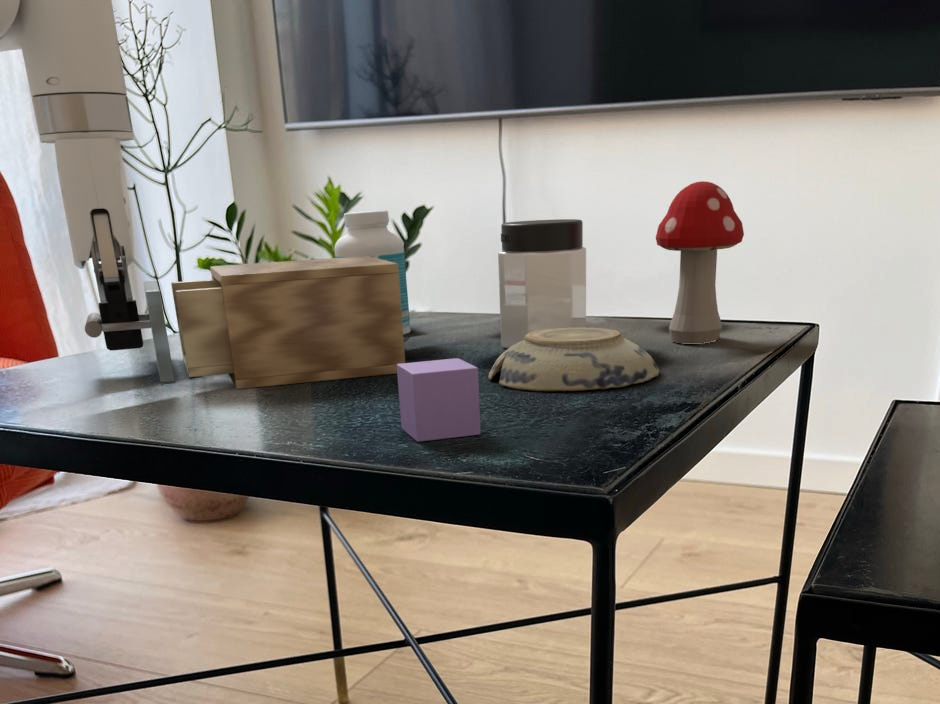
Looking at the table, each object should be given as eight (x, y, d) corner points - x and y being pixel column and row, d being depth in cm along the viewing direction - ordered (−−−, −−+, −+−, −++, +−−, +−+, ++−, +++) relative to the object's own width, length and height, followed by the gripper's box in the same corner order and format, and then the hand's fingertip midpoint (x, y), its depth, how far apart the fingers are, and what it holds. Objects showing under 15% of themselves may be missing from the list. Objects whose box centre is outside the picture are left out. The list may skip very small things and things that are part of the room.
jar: (523, 338, 111) (520, 220, 106) (594, 340, 108) (594, 218, 103) (490, 351, 104) (485, 225, 99) (565, 353, 100) (564, 223, 96)
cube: (417, 442, 69) (412, 374, 68) (401, 428, 73) (396, 363, 72) (481, 434, 71) (478, 367, 69) (461, 421, 75) (458, 357, 73)
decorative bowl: (695, 375, 88) (581, 354, 99) (697, 331, 86) (581, 315, 98) (562, 403, 80) (455, 377, 91) (562, 355, 79) (453, 335, 90)
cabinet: (236, 389, 91) (220, 275, 87) (224, 368, 101) (210, 266, 98) (406, 372, 95) (398, 263, 91) (376, 353, 106) (368, 255, 102)
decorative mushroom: (661, 332, 110) (665, 182, 104) (742, 333, 108) (751, 178, 102) (644, 347, 102) (648, 184, 96) (732, 348, 99) (742, 180, 93)
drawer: (95, 391, 88) (76, 296, 84) (98, 371, 97) (81, 285, 94) (324, 369, 93) (315, 279, 90) (305, 352, 103) (296, 270, 99)
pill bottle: (401, 336, 117) (392, 209, 111) (418, 344, 110) (409, 209, 105) (337, 342, 115) (325, 212, 109) (351, 351, 108) (338, 214, 102)
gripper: (43, 128, 90) (85, 341, 98) (29, 117, 77) (78, 364, 85) (131, 126, 92) (165, 334, 100) (131, 115, 79) (171, 356, 87)
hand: (125, 347), depth 92 cm, fingers closed
